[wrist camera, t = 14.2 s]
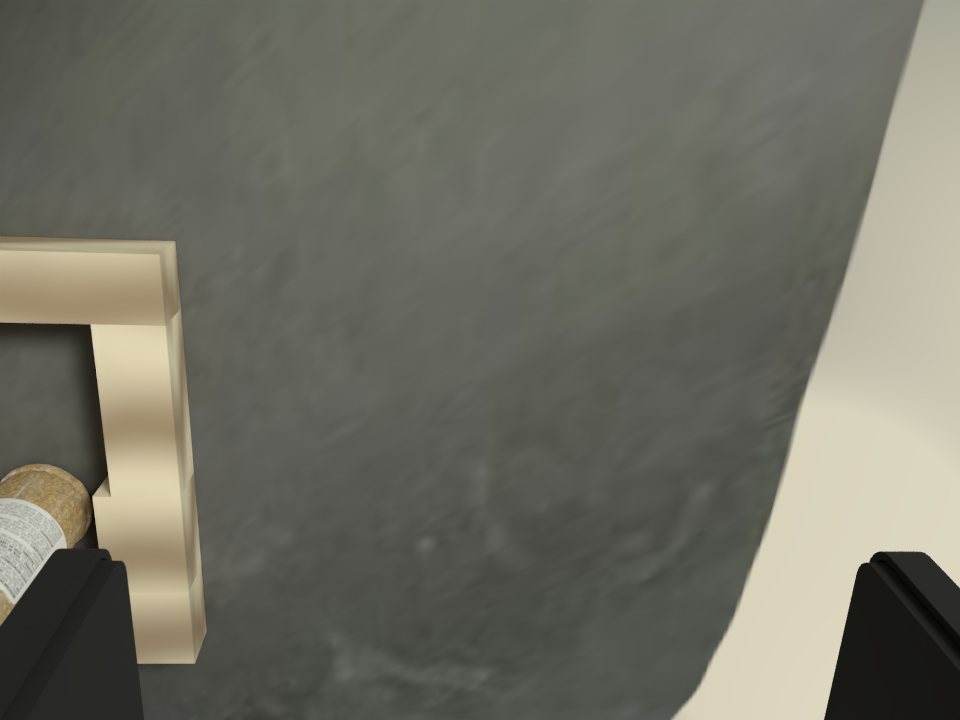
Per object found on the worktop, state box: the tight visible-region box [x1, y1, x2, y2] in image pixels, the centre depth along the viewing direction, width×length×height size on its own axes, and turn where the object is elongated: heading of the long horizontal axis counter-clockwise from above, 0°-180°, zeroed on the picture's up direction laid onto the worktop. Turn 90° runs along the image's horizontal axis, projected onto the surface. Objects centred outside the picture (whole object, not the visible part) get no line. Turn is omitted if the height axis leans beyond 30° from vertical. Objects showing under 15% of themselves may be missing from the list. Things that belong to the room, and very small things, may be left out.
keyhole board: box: [0, 236, 207, 664], centre depth 39 cm, size 20×14×2 cm
